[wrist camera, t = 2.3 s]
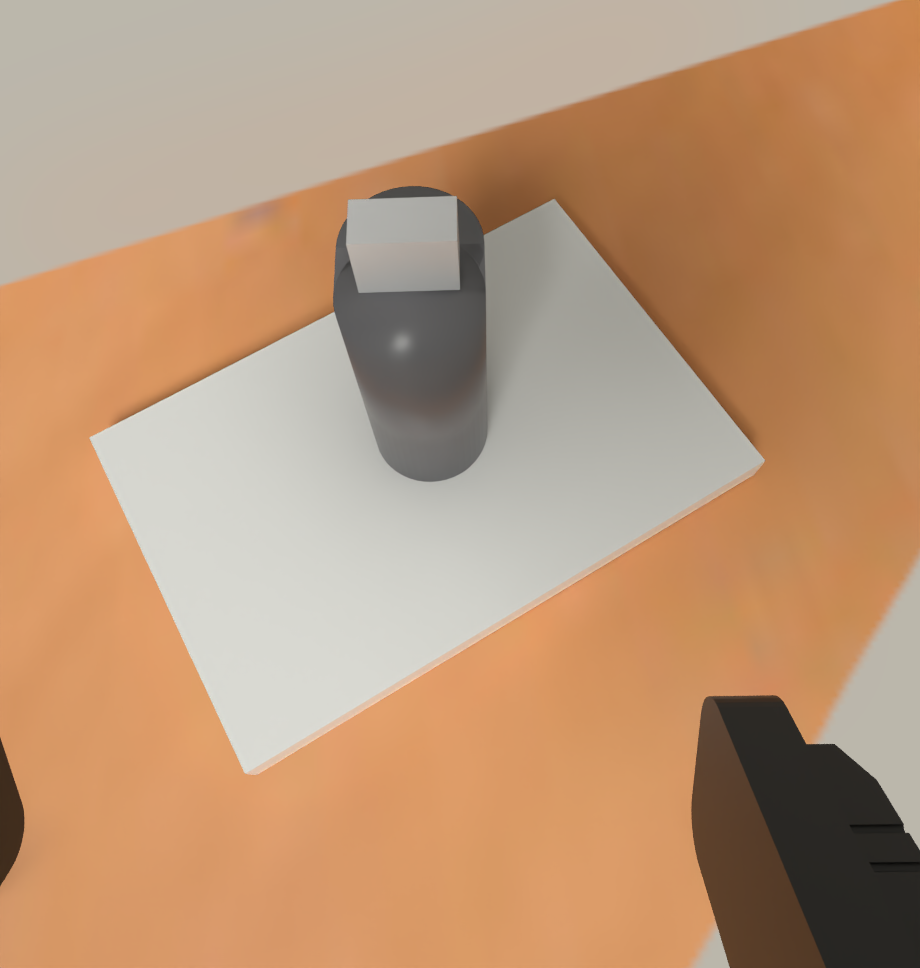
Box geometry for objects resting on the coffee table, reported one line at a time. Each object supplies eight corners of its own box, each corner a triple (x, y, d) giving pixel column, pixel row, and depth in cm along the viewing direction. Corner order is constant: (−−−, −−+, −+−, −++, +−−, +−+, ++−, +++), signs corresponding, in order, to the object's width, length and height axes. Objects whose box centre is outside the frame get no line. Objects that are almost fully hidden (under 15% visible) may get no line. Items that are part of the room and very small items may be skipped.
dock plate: (256, 774, 24) (245, 773, 23) (105, 452, 28) (89, 437, 26) (753, 475, 26) (765, 460, 25) (552, 220, 30) (554, 198, 29)
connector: (488, 480, 25) (487, 316, 17) (374, 483, 26) (313, 321, 17) (485, 341, 27) (482, 128, 19) (378, 344, 27) (325, 134, 19)
